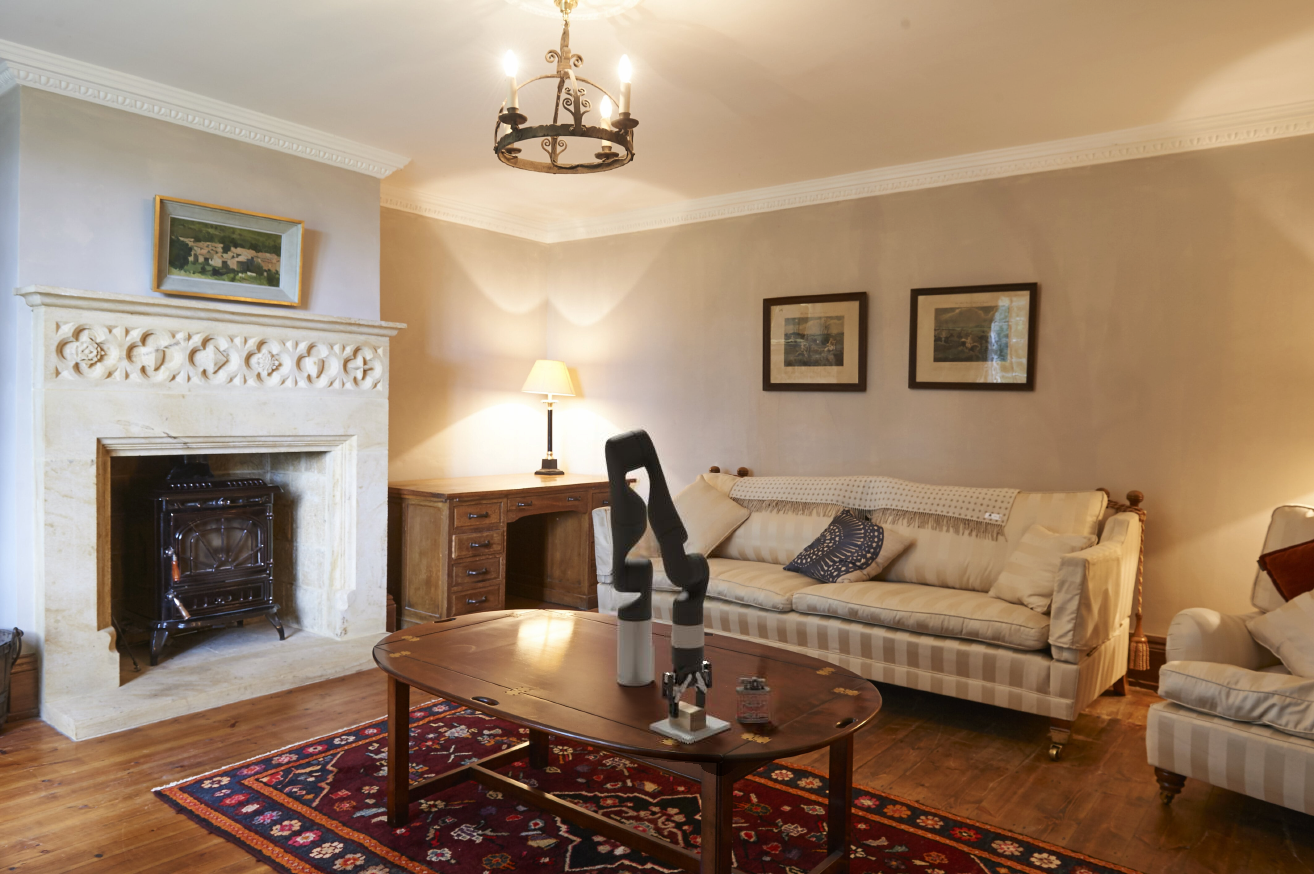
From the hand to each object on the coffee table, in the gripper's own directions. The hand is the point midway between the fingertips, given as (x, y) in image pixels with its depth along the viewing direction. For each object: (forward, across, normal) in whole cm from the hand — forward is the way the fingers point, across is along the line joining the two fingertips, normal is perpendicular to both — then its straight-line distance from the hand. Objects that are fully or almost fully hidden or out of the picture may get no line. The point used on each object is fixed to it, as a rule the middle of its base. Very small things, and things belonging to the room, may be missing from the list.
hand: (687, 712), depth 187 cm
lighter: (+4, -16, +6) cm, 17 cm away
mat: (+4, -1, 0) cm, 4 cm away
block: (+3, 0, 0) cm, 3 cm away
